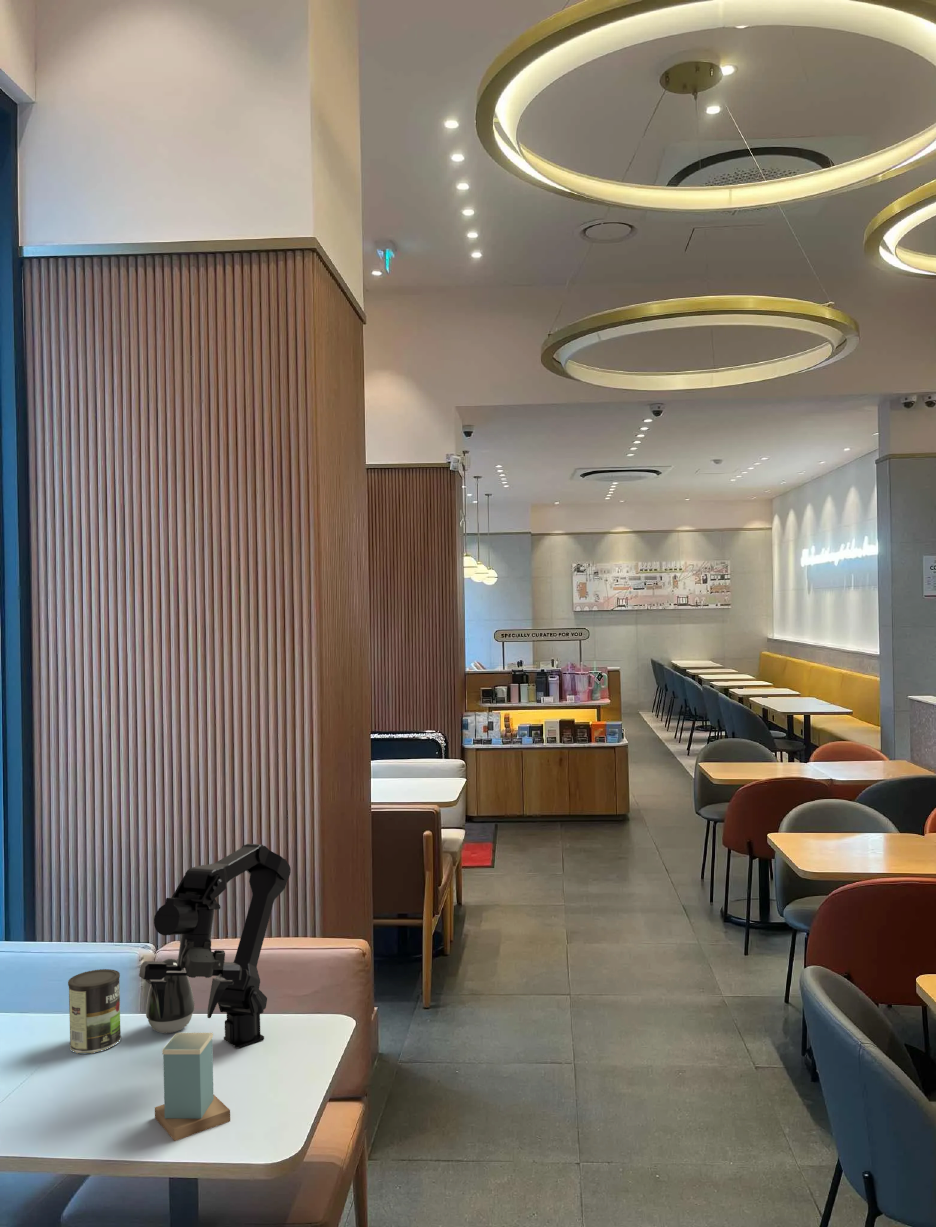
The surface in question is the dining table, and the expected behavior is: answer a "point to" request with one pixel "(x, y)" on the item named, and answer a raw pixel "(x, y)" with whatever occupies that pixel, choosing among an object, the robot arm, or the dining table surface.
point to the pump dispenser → (171, 1004)
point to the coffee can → (94, 1010)
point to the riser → (193, 1120)
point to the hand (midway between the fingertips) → (185, 1018)
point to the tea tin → (188, 1075)
